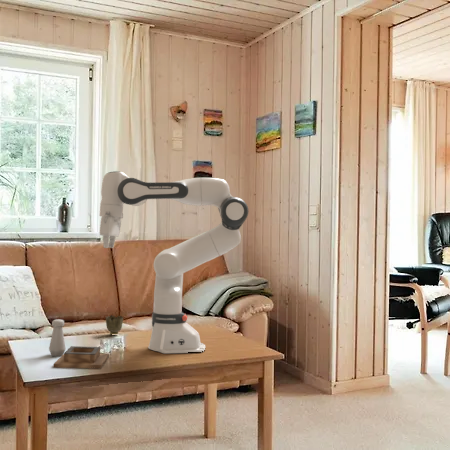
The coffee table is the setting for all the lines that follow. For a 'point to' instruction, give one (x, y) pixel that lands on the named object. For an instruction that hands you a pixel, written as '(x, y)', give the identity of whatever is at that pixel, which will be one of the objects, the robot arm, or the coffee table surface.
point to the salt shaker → (57, 338)
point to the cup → (114, 324)
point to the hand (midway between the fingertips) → (108, 247)
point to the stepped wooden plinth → (82, 358)
